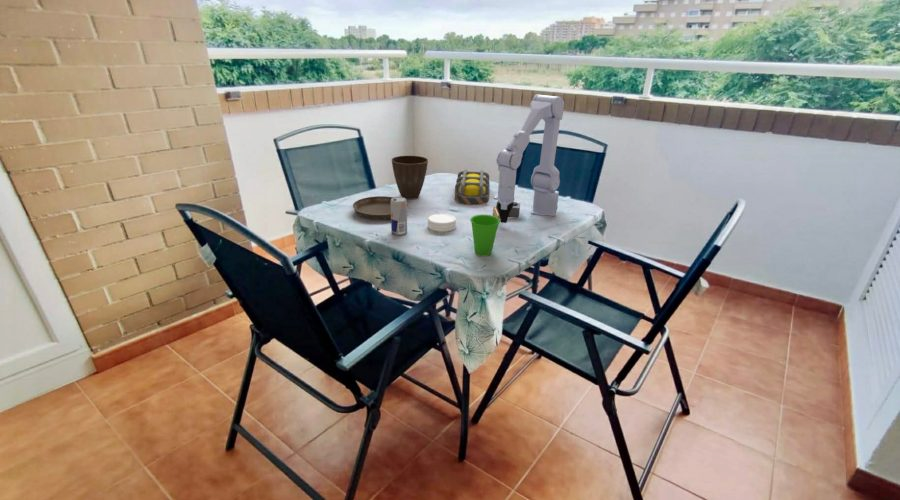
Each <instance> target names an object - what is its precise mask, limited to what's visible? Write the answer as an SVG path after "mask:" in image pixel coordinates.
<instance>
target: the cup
mask: <svg viewBox="0 0 900 500" xmlns="http://www.w3.org/2000/svg"><path fill="white" fill-rule="evenodd" d="M469 219H470V220H469V221H470V223H471V229H472V238H473V245H474V246H473V248H474V252H475V254H476V255H477V256H480V257H481V256H482V257H487V256H490V255H491V254H492V251H493V248H494V244H495V239H496V236H497V232H498V228H499V225H500V223H501V221H500V217H499V218H497V217H495V216H493V214H492V215H491V214H476V215H473V216H471V217H470V218H469Z"/></svg>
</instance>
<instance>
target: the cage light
mask: <svg viewBox="0 0 900 500" xmlns="http://www.w3.org/2000/svg"><path fill="white" fill-rule="evenodd" d="M484 176H485V177H484ZM455 181H456V183H455V185H454V201H455V202H457V203H459V204H462V205H468V206H479V205H485V204H487V203H489V201H490V195H491V194H490V189H491V188H490V174H489V173H488V172H486V171H484V170H483V169H482V170H480V171H470V170H469V171H468V170H467V169H464V170H461V171H459V172H458V173H457V179H456V180H455Z"/></svg>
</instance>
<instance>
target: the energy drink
mask: <svg viewBox="0 0 900 500" xmlns="http://www.w3.org/2000/svg"><path fill="white" fill-rule="evenodd" d="M390 204H391V219H390V225H391V227H390V228H391V233H392V235H395V236H404V235H406V234H407V233H408V203H407V199H406V198H404V197H401V196H395V197H394V198H392V199H391V202H390Z"/></svg>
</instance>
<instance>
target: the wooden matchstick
mask: <svg viewBox="0 0 900 500" xmlns="http://www.w3.org/2000/svg"><path fill="white" fill-rule="evenodd" d="M492 211H493V212H492V216H493V215H494V216H495V217H497V218H499V219H500V216H499V214H498V211H497V209H496V205H495V206H493V209H492Z"/></svg>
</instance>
